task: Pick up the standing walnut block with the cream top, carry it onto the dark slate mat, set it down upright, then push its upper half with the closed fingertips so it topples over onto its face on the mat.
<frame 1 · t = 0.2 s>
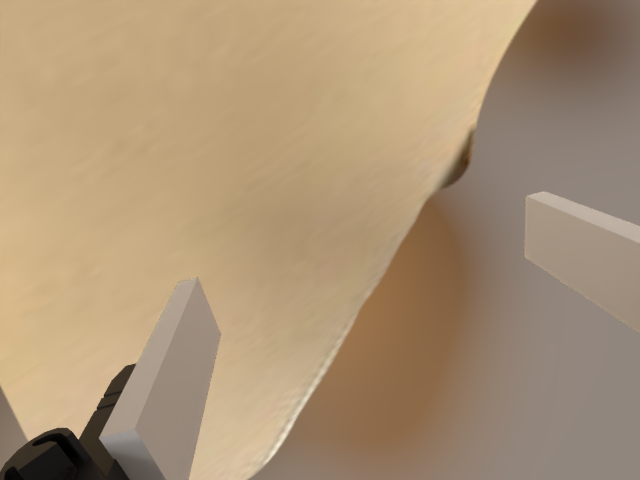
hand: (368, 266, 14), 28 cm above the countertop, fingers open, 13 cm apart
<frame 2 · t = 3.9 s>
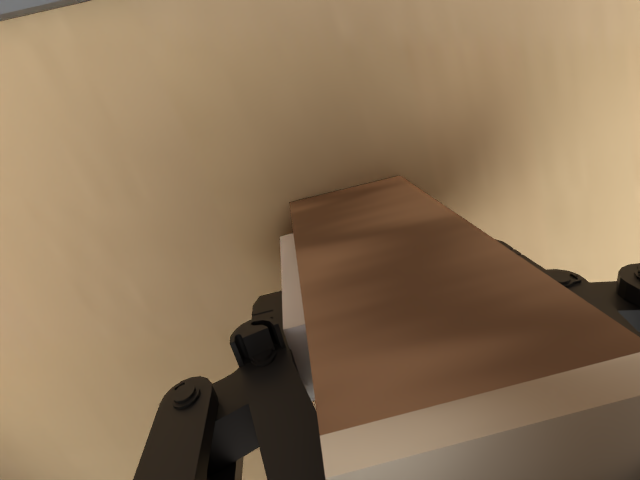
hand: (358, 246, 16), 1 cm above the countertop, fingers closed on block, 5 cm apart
block: (354, 239, 16), on the countertop, touching gripper
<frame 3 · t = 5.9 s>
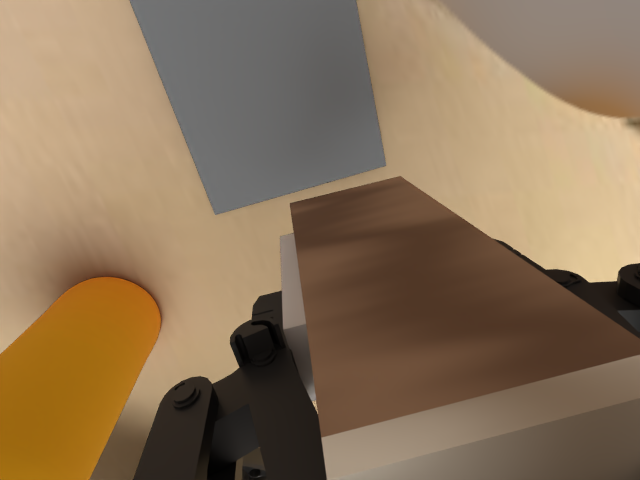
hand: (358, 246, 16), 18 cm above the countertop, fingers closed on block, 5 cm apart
beer bottle: (114, 314, 35), on the countertop
block: (355, 240, 16), point 17 cm above the countertop, touching gripper
mat: (267, 71, 28), on the countertop
when the fingers open (3 cm above the countertop, at t = 8.1 s): block drops 1 cm, resting on mat.
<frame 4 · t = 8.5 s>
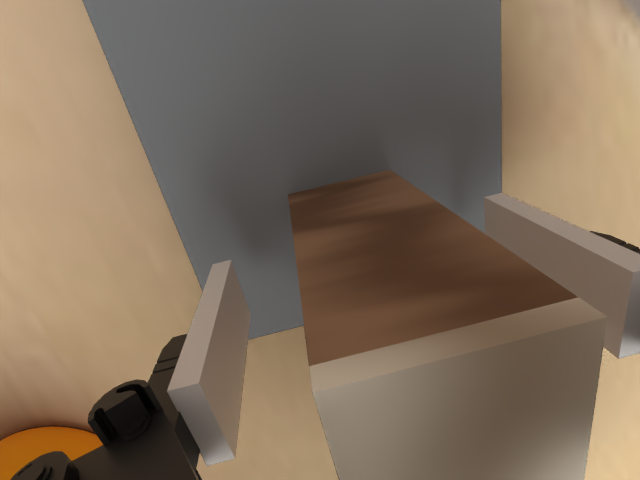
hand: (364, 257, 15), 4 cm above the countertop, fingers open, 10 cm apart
beer bottle: (64, 470, 23), on the countertop
block: (348, 229, 18), point 1 cm above the countertop, touching mat
mat: (327, 126, 16), on the countertop
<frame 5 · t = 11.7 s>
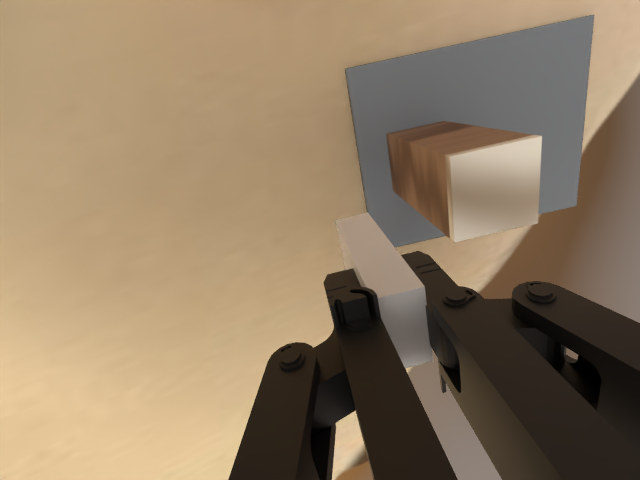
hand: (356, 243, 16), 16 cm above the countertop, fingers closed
block: (417, 156, 31), point 1 cm above the countertop, touching mat
mat: (470, 143, 31), on the countertop
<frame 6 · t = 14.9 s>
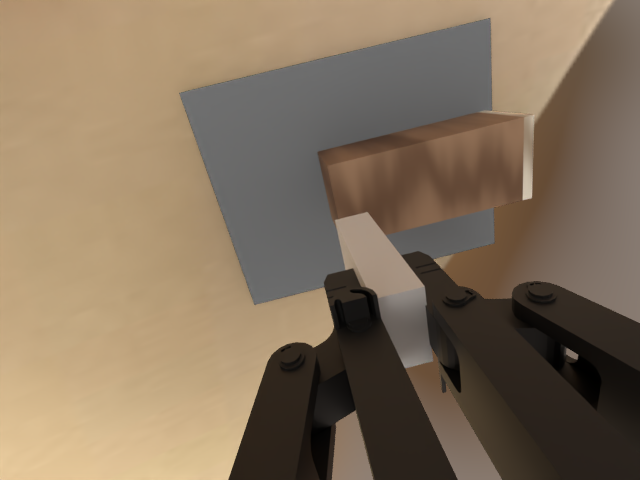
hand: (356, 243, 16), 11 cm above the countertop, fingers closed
block: (329, 196, 23), point 3 cm above the countertop, tilted 90°, touching mat
mat: (356, 176, 26), on the countertop
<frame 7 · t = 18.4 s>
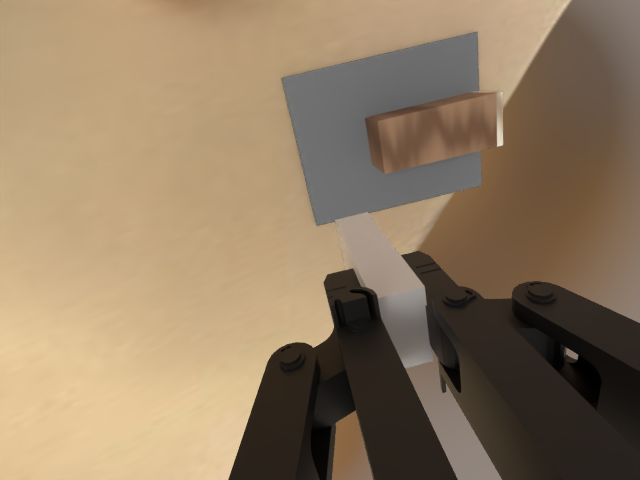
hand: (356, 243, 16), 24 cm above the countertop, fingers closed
block: (374, 144, 36), point 3 cm above the countertop, tilted 90°, touching mat
mat: (389, 135, 39), on the countertop
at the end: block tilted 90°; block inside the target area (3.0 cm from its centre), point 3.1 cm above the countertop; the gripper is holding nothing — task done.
